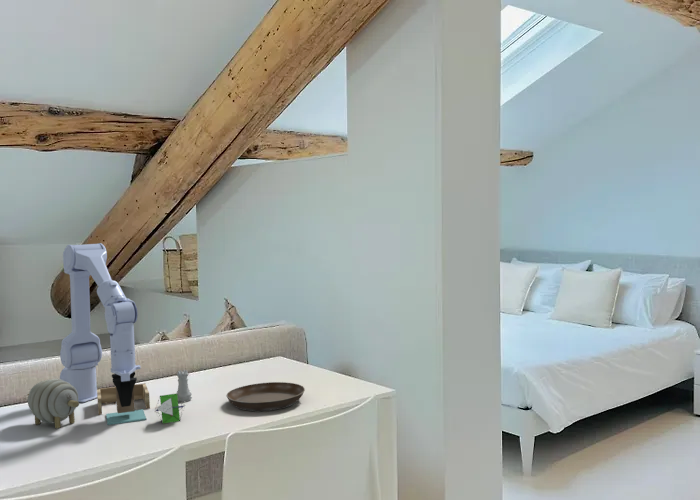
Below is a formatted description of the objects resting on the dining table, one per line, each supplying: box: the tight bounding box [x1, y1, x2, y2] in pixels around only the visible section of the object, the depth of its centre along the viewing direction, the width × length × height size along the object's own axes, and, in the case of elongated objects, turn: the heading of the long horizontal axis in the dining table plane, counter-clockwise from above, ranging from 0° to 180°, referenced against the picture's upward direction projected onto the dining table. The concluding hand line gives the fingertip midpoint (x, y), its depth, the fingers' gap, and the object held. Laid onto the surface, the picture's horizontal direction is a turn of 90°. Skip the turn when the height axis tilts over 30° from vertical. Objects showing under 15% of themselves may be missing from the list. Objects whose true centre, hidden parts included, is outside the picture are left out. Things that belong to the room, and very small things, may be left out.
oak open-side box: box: [96, 383, 151, 416], centre depth 180 cm, size 12×13×4 cm
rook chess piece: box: [175, 369, 193, 403], centre depth 184 cm, size 4×4×8 cm
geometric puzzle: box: [154, 393, 186, 425], centre depth 165 cm, size 7×7×8 cm
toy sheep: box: [26, 378, 80, 430], centre depth 165 cm, size 11×17×11 cm, turn 65°
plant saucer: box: [226, 381, 306, 412], centre depth 180 cm, size 21×21×3 cm
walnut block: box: [116, 388, 136, 413], centre depth 169 cm, size 4×4×6 cm
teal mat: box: [105, 408, 147, 426], centre depth 169 cm, size 9×9×1 cm
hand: (125, 403), depth 169 cm, fingers closed on walnut block, 4 cm apart
